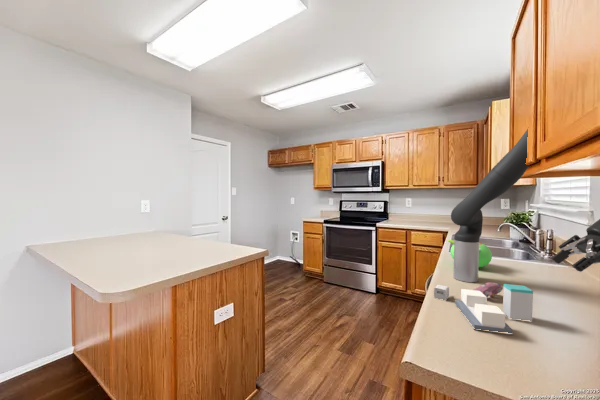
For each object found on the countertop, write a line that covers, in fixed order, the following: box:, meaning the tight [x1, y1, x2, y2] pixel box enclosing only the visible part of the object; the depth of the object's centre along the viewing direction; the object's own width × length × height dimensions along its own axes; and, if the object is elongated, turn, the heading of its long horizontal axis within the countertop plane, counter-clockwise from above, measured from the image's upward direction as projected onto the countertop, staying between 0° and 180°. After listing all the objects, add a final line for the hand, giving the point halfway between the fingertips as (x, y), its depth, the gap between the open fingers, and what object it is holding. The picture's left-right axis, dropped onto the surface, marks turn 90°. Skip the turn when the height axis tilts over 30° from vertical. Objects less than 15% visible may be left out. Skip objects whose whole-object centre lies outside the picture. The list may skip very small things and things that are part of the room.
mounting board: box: [454, 288, 514, 333], centre depth 77 cm, size 17×9×6 cm, turn 164°
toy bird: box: [447, 239, 493, 268], centre depth 131 cm, size 18×17×15 cm
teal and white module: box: [502, 283, 534, 322], centre depth 77 cm, size 4×6×10 cm
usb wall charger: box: [433, 284, 450, 301], centre depth 93 cm, size 4×7×4 cm, turn 139°
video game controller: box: [472, 282, 504, 298], centre depth 93 cm, size 10×5×7 cm, turn 106°
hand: (564, 264), depth 74 cm, fingers open, 8 cm apart
